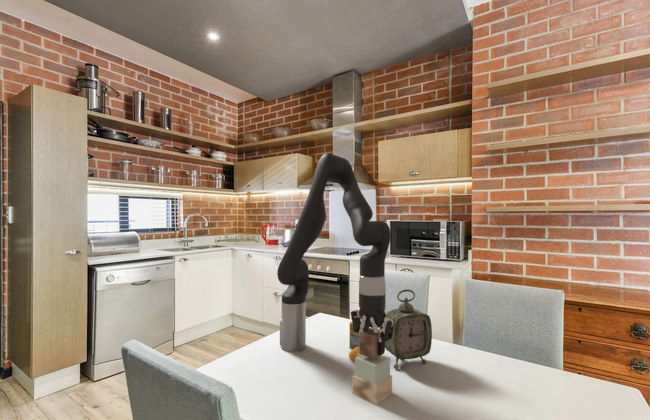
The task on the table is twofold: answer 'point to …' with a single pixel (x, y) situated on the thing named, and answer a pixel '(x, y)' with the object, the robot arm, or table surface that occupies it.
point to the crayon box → (354, 337)
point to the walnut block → (368, 343)
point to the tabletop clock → (409, 332)
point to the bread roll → (354, 354)
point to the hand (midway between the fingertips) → (372, 351)
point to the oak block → (372, 389)
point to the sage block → (372, 368)
